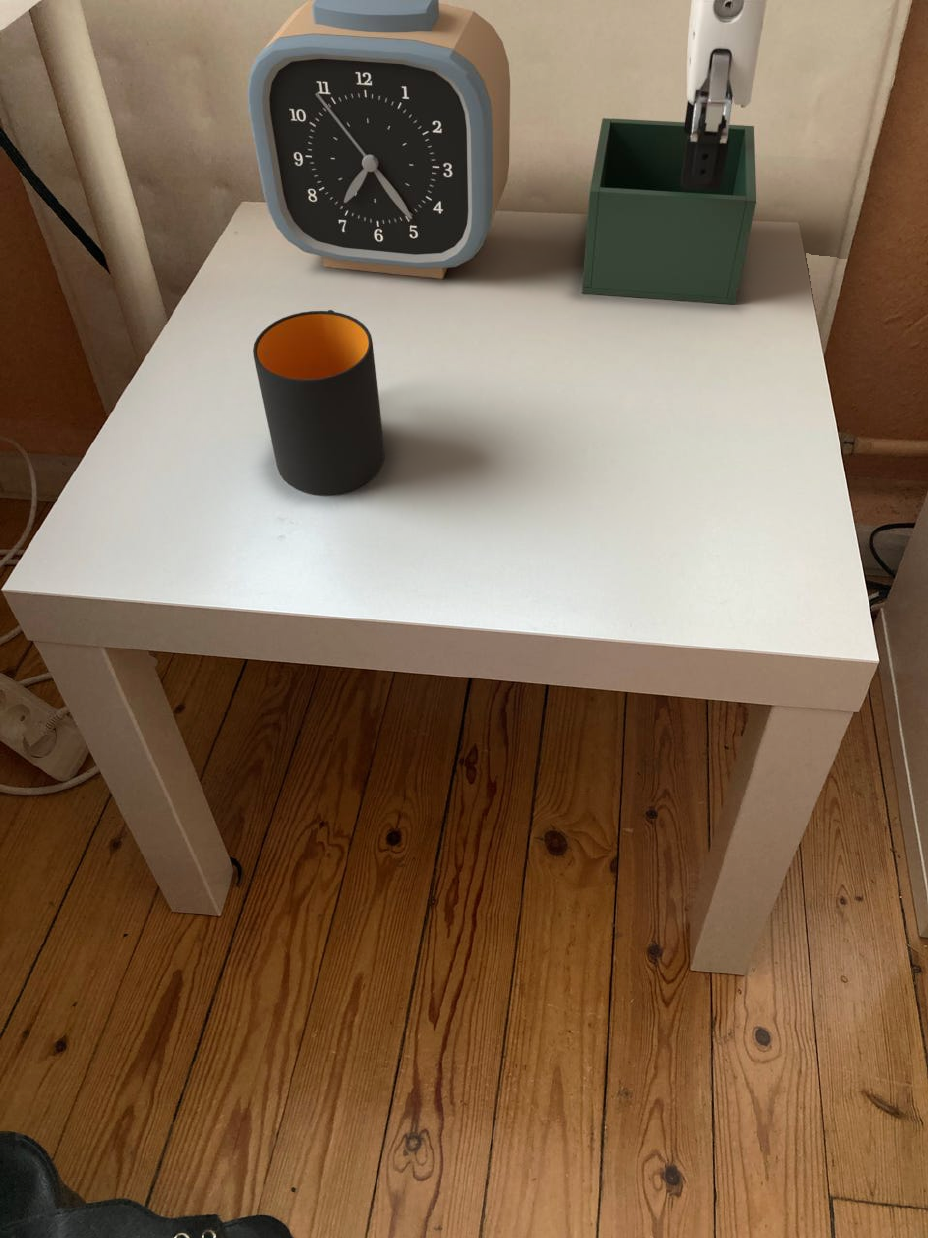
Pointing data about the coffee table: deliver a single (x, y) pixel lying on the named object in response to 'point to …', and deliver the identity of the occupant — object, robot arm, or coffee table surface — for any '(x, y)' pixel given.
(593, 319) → the coffee table surface
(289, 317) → the mug
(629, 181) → the bin
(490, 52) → the alarm clock
